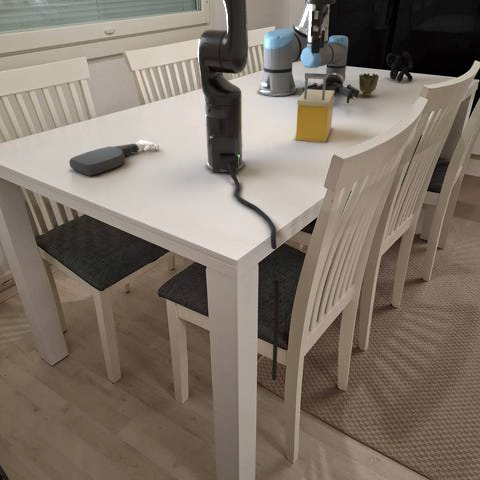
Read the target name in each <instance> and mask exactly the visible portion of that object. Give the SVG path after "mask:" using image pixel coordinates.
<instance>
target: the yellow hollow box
mask: <svg viewBox="0 0 480 480" xmlns="http://www.w3.org/2000/svg"><path fill="white" fill-rule="evenodd" d="M334 100H335V96H333V98H332V100H331V102H330V104H329V106H328V107H327V106H311V105H297V113H296V131H295V140H296V141H306V142H317V143H326V142H327V141H328V140H327V139H328V137H329V135H330V132H331V129H332V121H333V110H334Z"/></svg>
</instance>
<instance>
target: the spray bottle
mask: <svg viewBox="0 0 480 480" xmlns="http://www.w3.org/2000/svg"><path fill="white" fill-rule="evenodd" d="M159 148H160V145H159V144H158V143H155V142H151V141H148V140H144V139H139V140H138V141H137V142H135V143H129V144H128V143H126V144H122V145H113V146H105V147H100V148H97V149H94V150H90V151H87V152H83V153H81V154H78V155H74V156H73V157H70V159H69V161H68V162H69V167H70V168H71V169H72V170H74V171H75V172H78V173H81V174H83V175H85V176H89V177H90V176H91V177H92V176H95V175H99V174H102V173H105V172H107V171H110V170H113V169H116V168H118V167H120V166H122V165H123V164H124V163H125V158H126V156H127V155H131V154H133V153H138V151H140V150H143V151H144V152H146V151H147V150H149V149H159Z"/></svg>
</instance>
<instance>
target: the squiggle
mask: <svg viewBox="0 0 480 480" xmlns="http://www.w3.org/2000/svg"><path fill="white" fill-rule="evenodd" d="M401 57H402V59H401ZM391 59H392V60H391ZM393 60H394V61H393ZM385 61H386V64H387V67H390V68H391V70H390V72H389V78H390V79H391V80H395V79H396V81H397V82H399V83H400V82H402V81H403V79H404V76H406V78H407V80H408V81H412V80H413V79H414V77H413V75H412V74H411V73H410V72H409V71H410V70H412V69H413V68H414V64H413V61H412V57H411V54H410V53H409V52H408V51H403V53H402V54H401V55H396V54H394V53H392V52H390V53H387V55H386V57H385ZM406 62H407V65H408V66H407V67H405V66H404V65H405V64H406ZM400 70H401V71H400Z"/></svg>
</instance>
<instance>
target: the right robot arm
mask: <svg viewBox="0 0 480 480" xmlns="http://www.w3.org/2000/svg"><path fill="white" fill-rule="evenodd" d="M326 5H327V6H328V8H329V10H328V12H329V13H330V5H331V4H326ZM314 10H315V5H314V4H308V3H307V0H306V1H305V4H304V6H303V8H302V12H301V15H300V18H299V19H297V20H296V21H294V23H293V25H292V28H279V29H273V30H272V29H271V30H270V31H268V32H266V33H265V35H264V36H263V44H262V46H263V73H262V77H261V79H260V83H259V86H258V93H259V94H260V95H263V96H266V97H267V96H268V97H288V96H291V95H294V94H296V90H297V87H296V83H295V79H294V76H293V75H294V74H293V63H298V62H301V64H302V66H303V67H304V68H307V69H316V68H317V69H318V68H320V67H324V66H326V71H325V74H327V79H326V88H325V90H331V91H334V97H335V96H344V97H346V104H350V100H354V98H355V99H359V96H360V89H357V88H356V87H354V86H352V84H347V85H346V86H344V83H345V81H346V71H347V61H348V52H349V51H348V50H349V38H348V36H346V35H342V34H341V35H340V34H339V35H331V36H329V26H330V25H329V23H330V14H329V15H328V24H327V30H326V33H324V34H325V41H324V47H323V48H320V52H319V53H311V46H312V38H311V36H310V33H311V18H312V14H311V13H312V11H314ZM315 31H316V30H315ZM307 89H312V90H323V83H320V85H319V84H318V83H317V82H314V83H312V84H310V85H308V86H307ZM304 91H305V86H304V87H302V88H301V95H302V94H303V92H304Z"/></svg>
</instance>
